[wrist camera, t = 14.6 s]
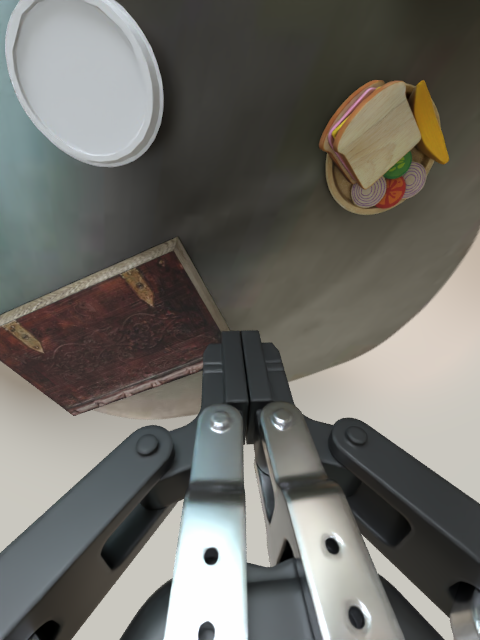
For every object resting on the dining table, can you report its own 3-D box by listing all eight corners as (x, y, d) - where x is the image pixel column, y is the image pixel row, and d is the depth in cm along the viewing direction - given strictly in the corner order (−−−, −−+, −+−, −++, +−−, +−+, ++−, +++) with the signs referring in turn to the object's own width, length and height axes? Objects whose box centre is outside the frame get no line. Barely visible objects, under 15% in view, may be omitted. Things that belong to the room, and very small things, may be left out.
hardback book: (85, 395, 51) (74, 419, 47) (-5, 316, 41) (-29, 338, 37) (235, 340, 47) (237, 361, 43) (178, 235, 36) (173, 250, 32)
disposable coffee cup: (170, 164, 31) (151, 186, 22) (75, 135, 29) (7, 144, 20) (186, 51, 26) (171, 14, 17) (73, 6, 24) (-20, -68, 14)
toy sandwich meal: (349, 232, 38) (365, 245, 34) (297, 135, 31) (310, 137, 27) (446, 166, 34) (476, 172, 30) (411, 39, 27) (444, 26, 23)
